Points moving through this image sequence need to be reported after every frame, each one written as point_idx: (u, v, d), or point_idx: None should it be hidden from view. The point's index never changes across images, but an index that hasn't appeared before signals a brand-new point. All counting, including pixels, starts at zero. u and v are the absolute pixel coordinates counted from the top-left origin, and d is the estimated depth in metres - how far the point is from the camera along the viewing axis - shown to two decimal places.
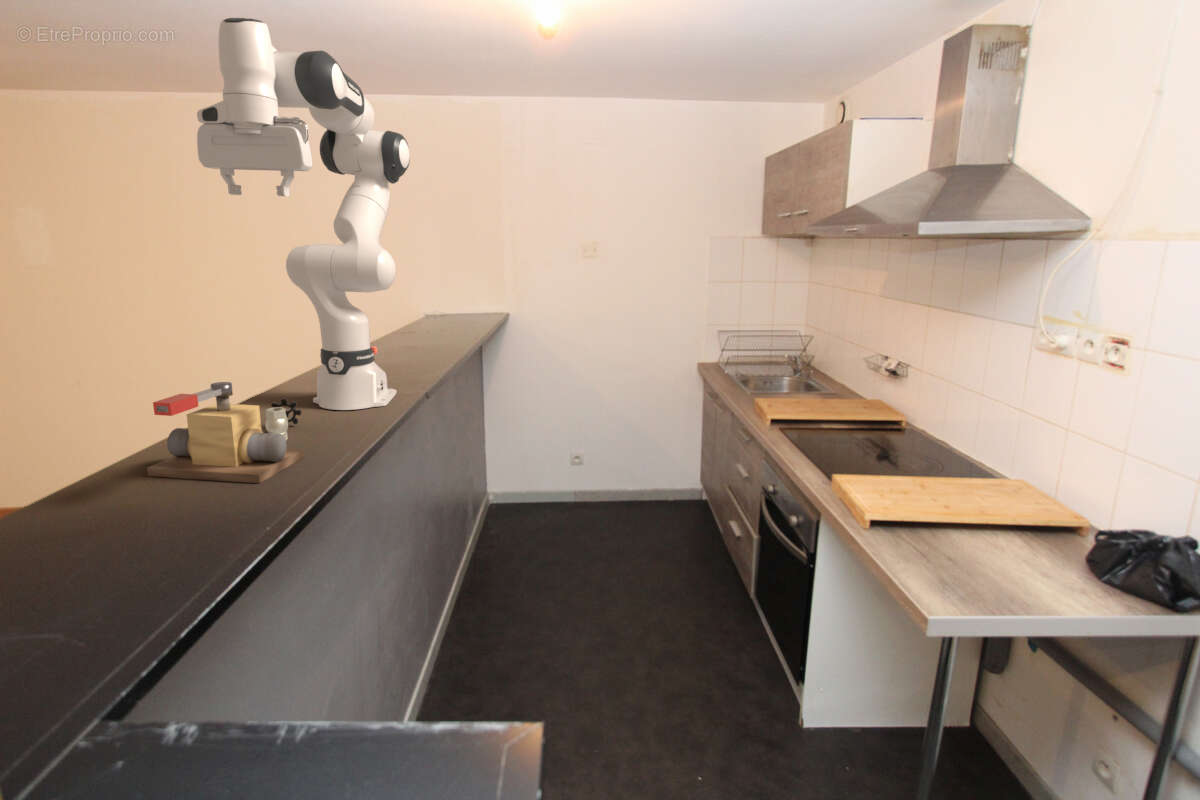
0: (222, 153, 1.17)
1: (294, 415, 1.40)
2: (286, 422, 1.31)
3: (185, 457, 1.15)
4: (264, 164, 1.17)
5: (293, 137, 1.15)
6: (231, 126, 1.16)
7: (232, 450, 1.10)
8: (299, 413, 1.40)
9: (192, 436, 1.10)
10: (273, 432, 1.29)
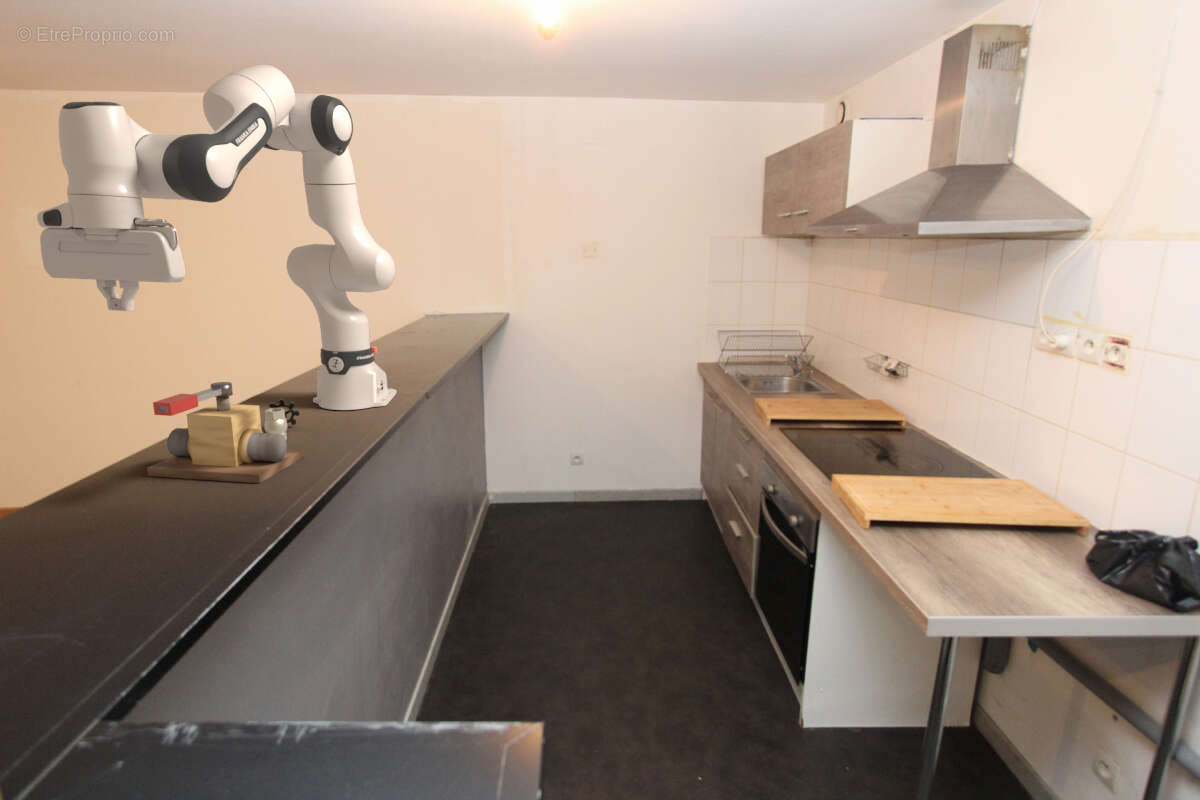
0: (71, 262, 0.96)
1: (292, 416, 1.39)
2: (285, 423, 1.30)
3: (185, 457, 1.15)
4: (123, 276, 0.95)
5: (157, 245, 0.94)
6: (81, 231, 0.94)
7: (232, 450, 1.10)
8: (297, 414, 1.39)
9: (192, 436, 1.10)
10: (272, 433, 1.29)
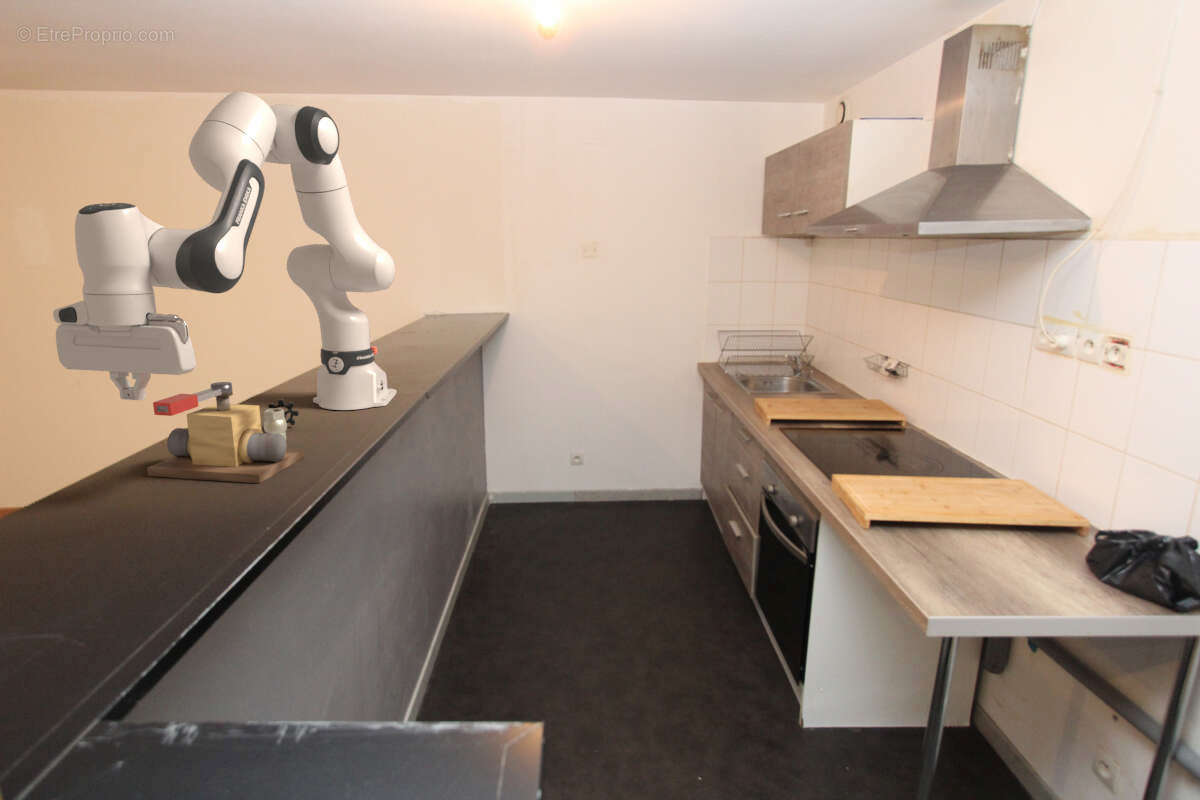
0: (86, 355, 0.99)
1: (291, 416, 1.39)
2: (285, 423, 1.30)
3: (185, 457, 1.15)
4: (136, 369, 0.99)
5: (169, 340, 0.97)
6: (95, 326, 0.97)
7: (232, 450, 1.10)
8: (296, 414, 1.39)
9: (192, 436, 1.10)
10: (272, 433, 1.28)
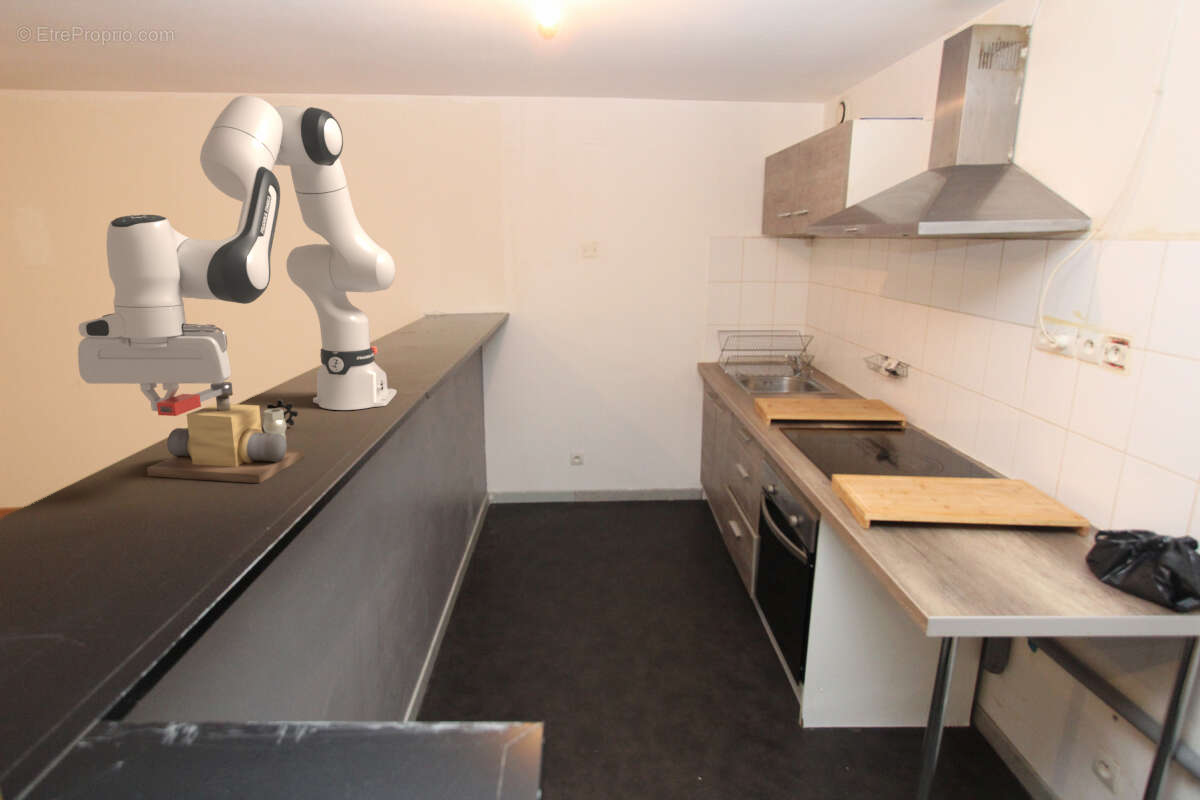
0: (113, 368, 0.98)
1: (290, 416, 1.39)
2: (284, 423, 1.30)
3: (185, 457, 1.15)
4: (172, 379, 0.99)
5: (210, 350, 0.99)
6: (126, 338, 0.97)
7: (232, 450, 1.10)
8: (295, 414, 1.39)
9: (192, 436, 1.10)
10: (272, 433, 1.28)
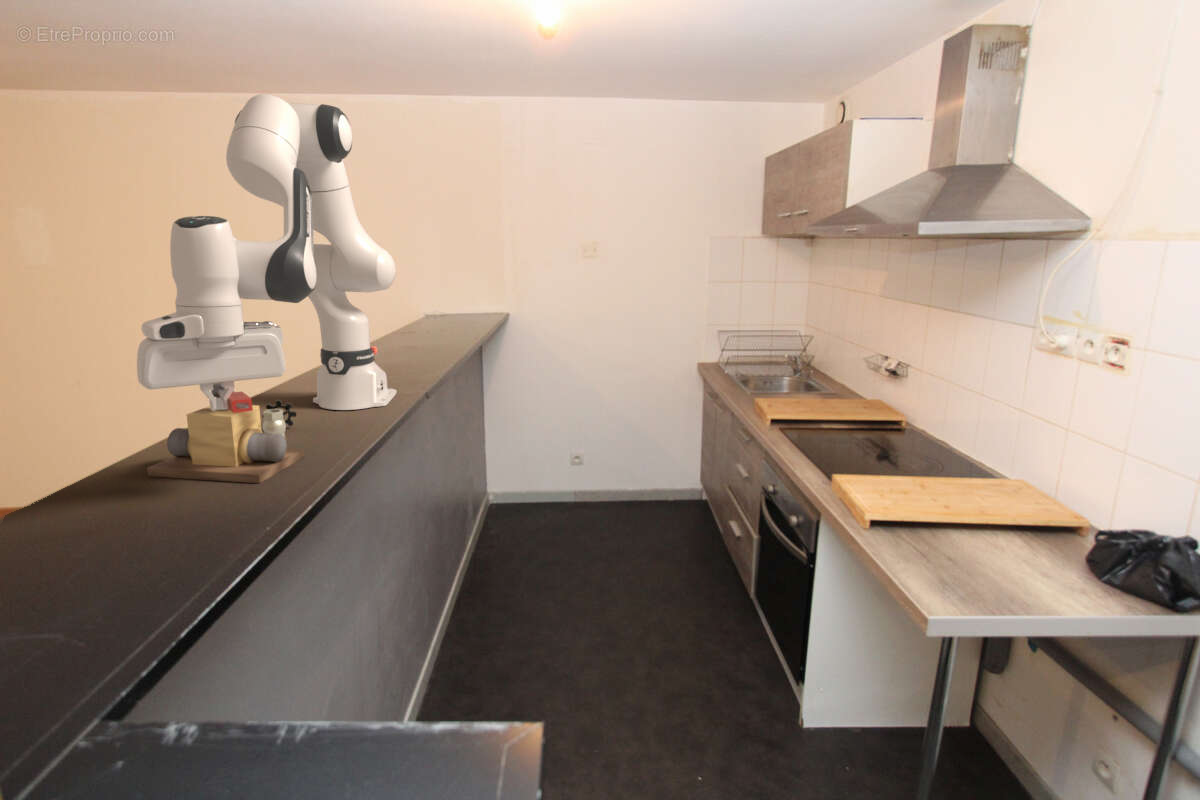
0: (179, 371, 0.96)
1: (289, 417, 1.38)
2: (284, 424, 1.29)
3: (185, 457, 1.15)
4: (238, 376, 1.02)
5: (275, 345, 1.05)
6: (194, 339, 0.97)
7: (232, 450, 1.10)
8: (294, 415, 1.38)
9: (192, 436, 1.10)
10: None
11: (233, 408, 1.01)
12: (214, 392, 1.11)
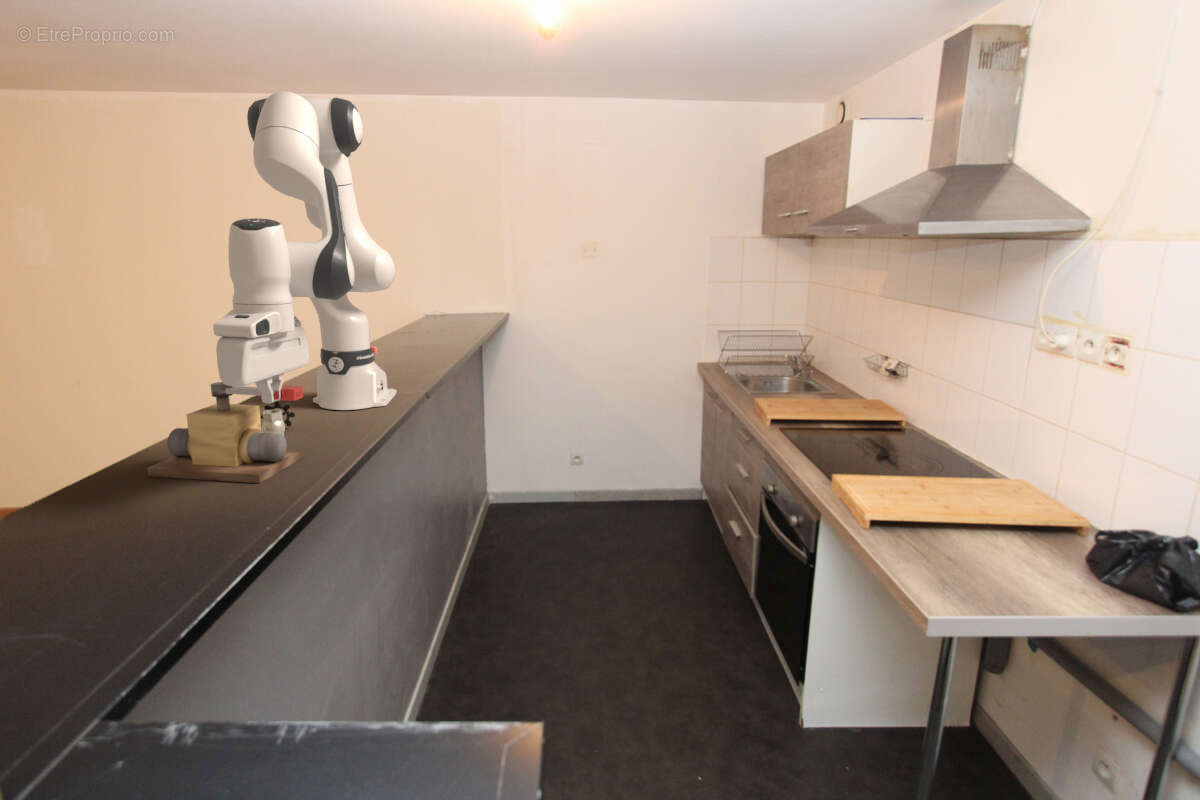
0: (259, 366, 1.02)
1: (288, 417, 1.38)
2: (283, 424, 1.29)
3: (185, 457, 1.15)
4: (288, 368, 1.10)
5: (304, 337, 1.15)
6: None
7: (232, 450, 1.10)
8: (293, 415, 1.38)
9: (192, 436, 1.10)
10: None
11: (294, 396, 1.10)
12: (221, 392, 1.11)
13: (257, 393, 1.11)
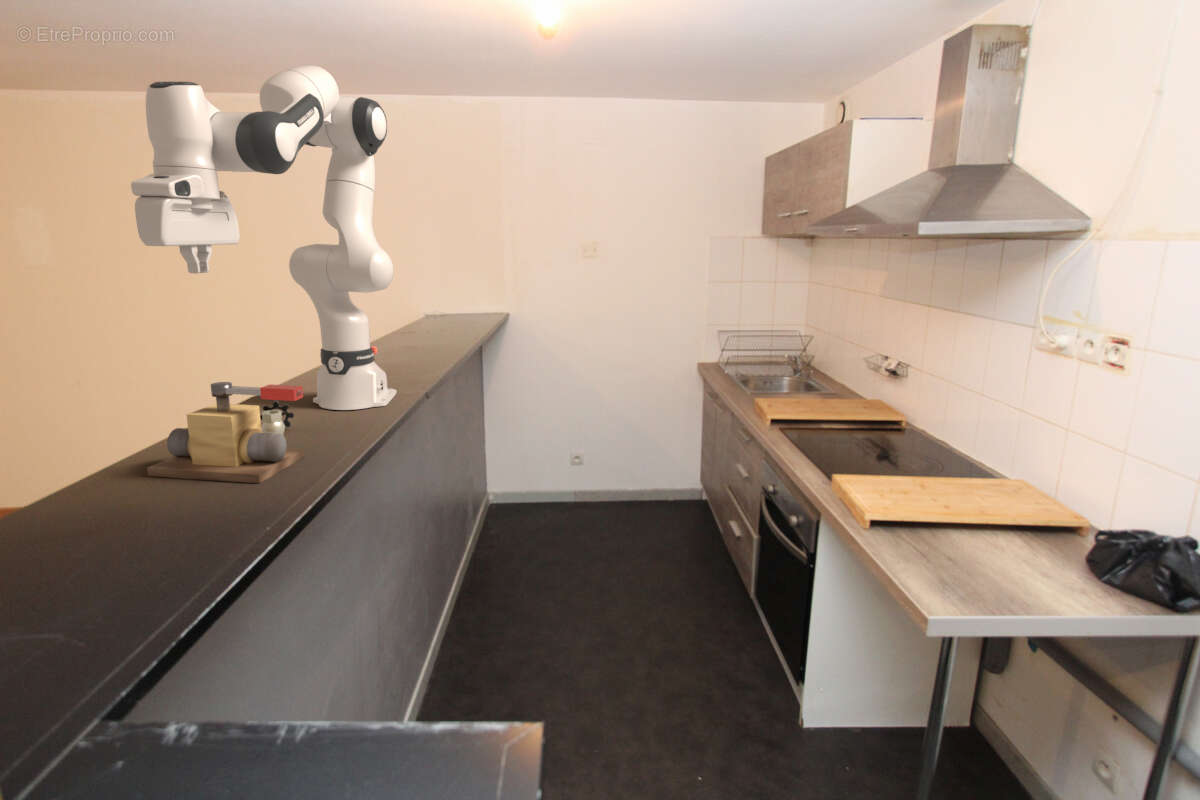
0: (181, 230, 1.02)
1: (286, 418, 1.38)
2: (283, 425, 1.29)
3: (185, 457, 1.15)
4: (215, 240, 1.10)
5: (233, 213, 1.14)
6: None
7: (232, 450, 1.10)
8: (292, 416, 1.38)
9: (192, 436, 1.10)
10: None
11: (294, 396, 1.10)
12: (221, 392, 1.11)
13: (257, 393, 1.11)
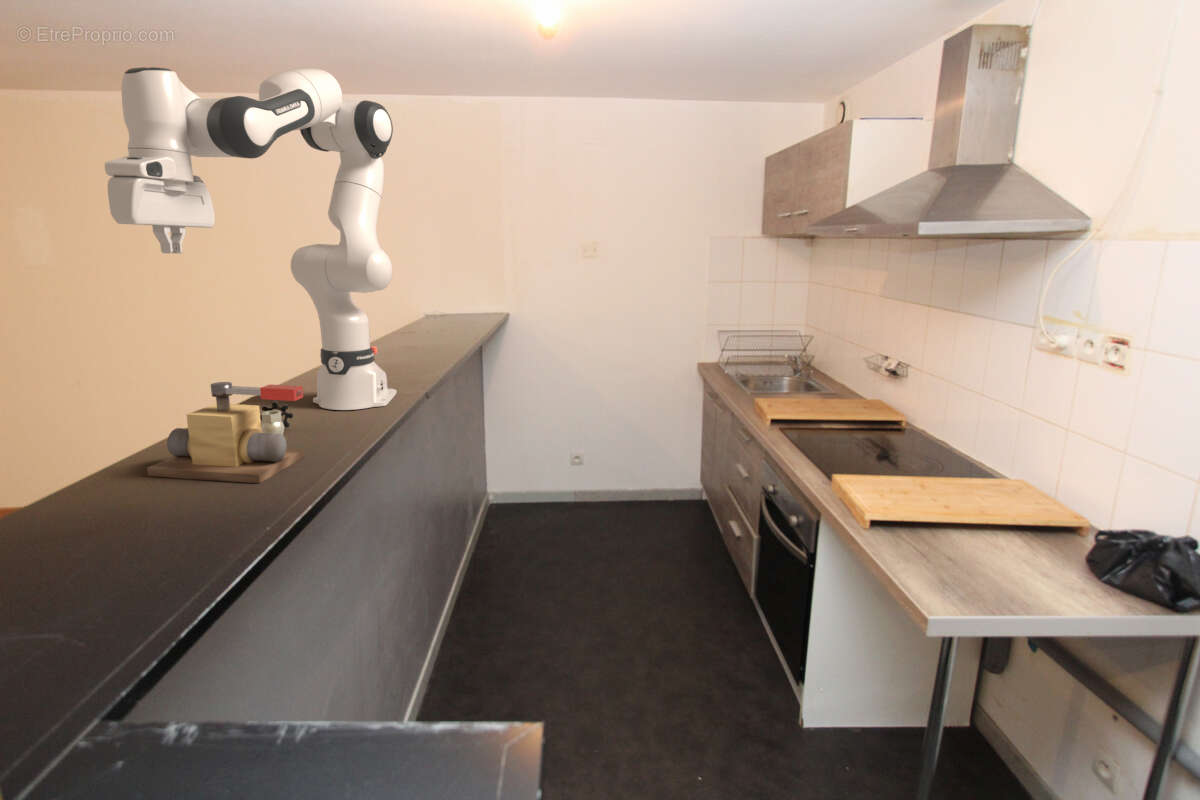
0: (153, 210, 1.05)
1: (285, 418, 1.37)
2: (283, 425, 1.28)
3: (185, 457, 1.15)
4: (188, 222, 1.13)
5: (208, 197, 1.18)
6: None
7: (232, 450, 1.10)
8: (291, 416, 1.37)
9: (192, 436, 1.10)
10: None
11: (294, 396, 1.10)
12: (221, 392, 1.11)
13: (257, 393, 1.11)
